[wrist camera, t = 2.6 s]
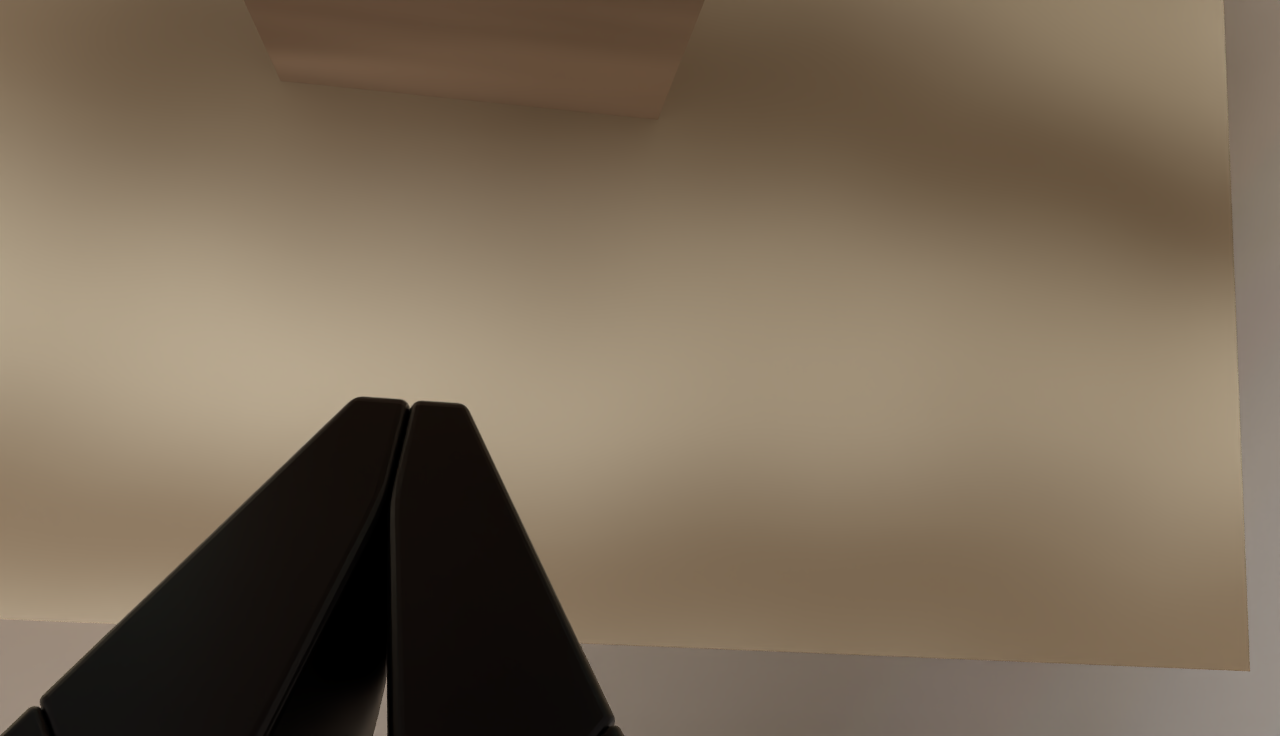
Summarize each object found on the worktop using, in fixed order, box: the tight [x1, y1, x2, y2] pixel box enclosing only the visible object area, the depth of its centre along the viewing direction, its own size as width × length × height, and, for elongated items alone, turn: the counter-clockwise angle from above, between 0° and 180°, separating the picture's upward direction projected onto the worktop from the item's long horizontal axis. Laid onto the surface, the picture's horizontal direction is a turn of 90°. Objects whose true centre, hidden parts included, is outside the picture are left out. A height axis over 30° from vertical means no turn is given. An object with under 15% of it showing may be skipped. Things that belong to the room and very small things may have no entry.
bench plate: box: [0, 0, 1250, 671], centre depth 16 cm, size 14×22×3 cm, turn 87°
